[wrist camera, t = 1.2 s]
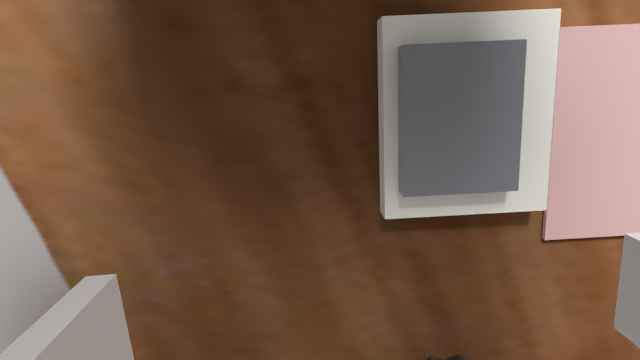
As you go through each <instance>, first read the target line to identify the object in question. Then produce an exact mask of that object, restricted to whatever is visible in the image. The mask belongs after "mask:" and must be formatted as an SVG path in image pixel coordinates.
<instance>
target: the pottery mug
mask: <svg viewBox="0 0 640 360" xmlns="http://www.w3.org/2000/svg"><path fill="white" fill-rule="evenodd" d="M429 360H469V359H468V358H467V357H465V356H460V355H455V356H451V357H449V358H446V359H441V358H438V357H433V356H430V357H429Z"/></svg>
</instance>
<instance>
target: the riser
mask: <svg viewBox="0 0 640 360" xmlns="http://www.w3.org/2000/svg"><path fill="white" fill-rule="evenodd" d="M560 18H561V8H560V9H536V10H513V11H489V12H466V13H442V14H419V15H395V16H382V17H381V18H380V19H379V20H378V21H377V52H378V114H379V176H380V212H381V214H382V215H383V217H384V219H400V218H417V217H435V216H453V215H471V214H488V213H506V212H524V211H542V210H547V197H548V183H549V170H550V156H551V142H552V128H553V115H554V101H555V87H556V73H557V60H558V46H559V32H560ZM518 39H527V48H526V65H525V83H524V100H523V118H522V135H521V153H520V170H519V188H518V191H508V192H490V193H471V194H453V195H435V196H417V197H403V196H402V195H401V194H400V193H399V192H398V47H399V46H401V45H406V44H428V43H451V42H473V41H496V40H518Z"/></svg>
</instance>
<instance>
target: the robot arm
mask: <svg viewBox="0 0 640 360" xmlns="http://www.w3.org/2000/svg"><path fill="white" fill-rule="evenodd" d="M614 328H615V329H617V330H618V331H619V332H620V333H621V334H623V335H624V336H625V337H626V338H628V339H629V340H630V341H631V342H632V343H634V344H635V345H636V346H637V347H639V348H640V232H639V233H626V234H625V236H624V244H623V253H622V261H621V270H620V278H619V287H618V295H617V304H616V312H615V320H614ZM0 360H134V357H133V352H132V347H131V342H130V338H129V333H128V328H127V323H126V319H125V314H124V309H123V304H122V300H121V295H120V290H119V285H118V281H117V276H116V274H109V275H97V276H86V277H85V278H84V279H82V280H81V281H80V282H79V283H78V284H77V285H76V286H75V287H74V288H73V289H71V290H70V291H69V292H68V293H67V294H66V295H65V296H64V297H63V298H62V299H60V300H59V301H58V302H57V303H56V304H55V305H54V306H53V307H52V308H51V309H50V310H48V311H47V312H46V313H45V314H44V315H43V316H42V317H41V318H40V319H38V320H37V321H36V322H35V323H34V324H33V325H32V326H31V327H30V328H29V329H28V330H26V331H25V332H24V333H23V334H22V335H21V336H20V337H19V338H18V339H17V340H16V341H14V342H13V343H12V344H11V345H10V346H9V347H8V348H7V349H6V350H5V351H3V352H2V353H1V354H0Z"/></svg>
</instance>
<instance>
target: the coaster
mask: <svg viewBox="0 0 640 360" xmlns="http://www.w3.org/2000/svg"><path fill="white" fill-rule="evenodd" d="M526 48H527V39H518V40H496V41H473V42H451V43H428V44H406V45H401V46H399V47H398V192H399V193H400V194H401V195H402V196H403V197H417V196H435V195H453V194H471V193H490V192H508V191H518V188H519V170H520V153H521V135H522V118H523V100H524V83H525V65H526Z"/></svg>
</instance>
